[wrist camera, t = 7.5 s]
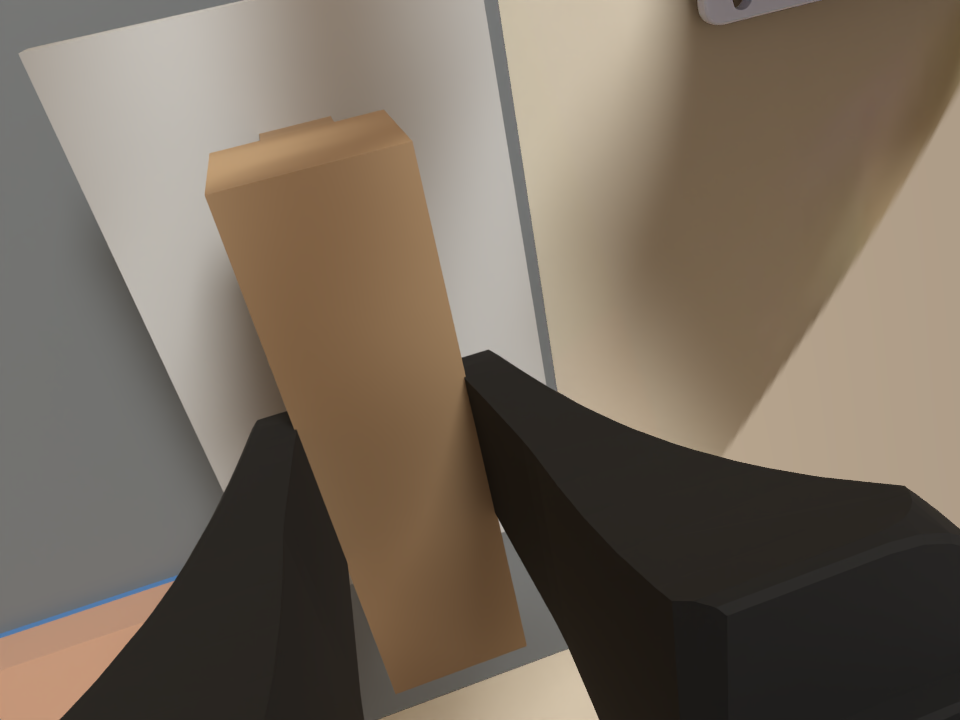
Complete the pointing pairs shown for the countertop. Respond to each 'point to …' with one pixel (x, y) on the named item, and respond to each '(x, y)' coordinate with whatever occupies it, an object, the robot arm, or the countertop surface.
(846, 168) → the countertop surface
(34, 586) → the mat
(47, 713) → the tile
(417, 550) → the trowel
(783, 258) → the countertop surface
